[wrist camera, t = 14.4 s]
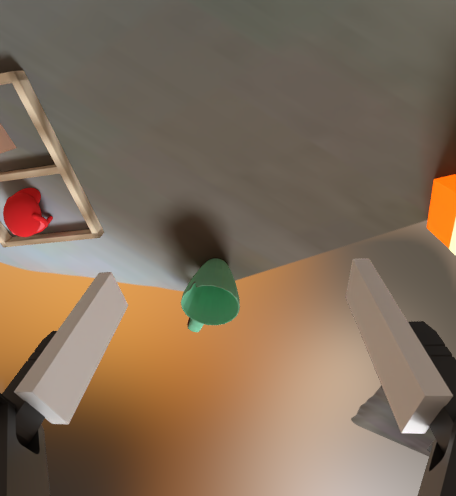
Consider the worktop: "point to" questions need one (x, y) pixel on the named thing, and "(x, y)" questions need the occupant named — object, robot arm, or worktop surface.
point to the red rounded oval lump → (25, 213)
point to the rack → (47, 170)
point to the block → (5, 141)
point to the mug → (211, 296)
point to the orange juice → (443, 211)
